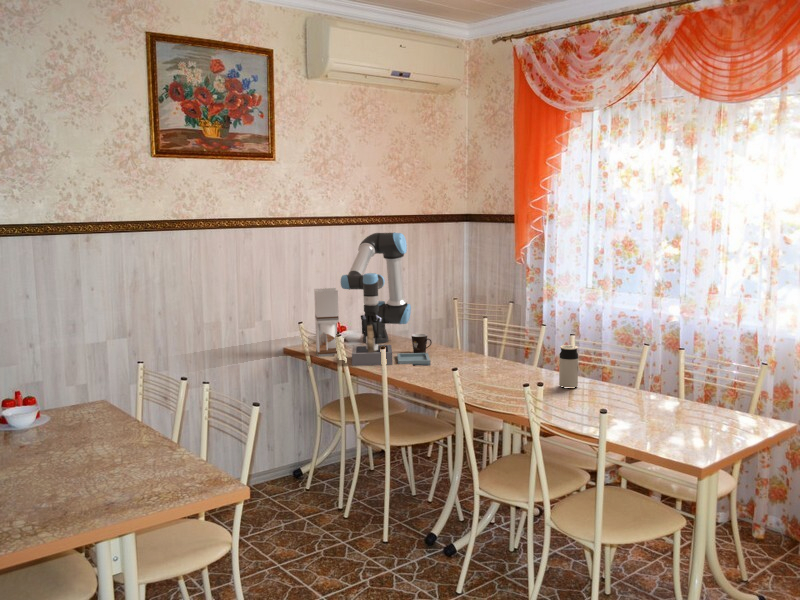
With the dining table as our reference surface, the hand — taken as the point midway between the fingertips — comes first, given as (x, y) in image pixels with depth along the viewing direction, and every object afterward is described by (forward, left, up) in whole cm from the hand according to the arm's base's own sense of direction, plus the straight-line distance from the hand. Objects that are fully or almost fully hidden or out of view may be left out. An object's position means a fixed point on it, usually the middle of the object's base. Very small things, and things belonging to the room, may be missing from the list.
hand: (372, 349), depth 384 cm
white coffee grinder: (-24, -24, -7) cm, 35 cm away
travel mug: (+57, +86, -7) cm, 104 cm away
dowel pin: (0, 0, -2) cm, 2 cm away
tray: (0, +21, -7) cm, 22 cm away
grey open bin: (0, 0, -7) cm, 7 cm away
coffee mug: (-18, +26, -7) cm, 32 cm away
